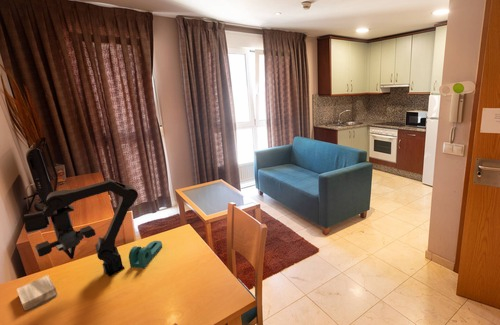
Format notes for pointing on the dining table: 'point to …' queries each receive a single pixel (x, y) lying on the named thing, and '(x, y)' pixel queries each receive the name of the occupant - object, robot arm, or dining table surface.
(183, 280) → the dining table surface
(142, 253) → the bracket
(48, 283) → the beige streaked flat block
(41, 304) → the charcoal rubber mat
